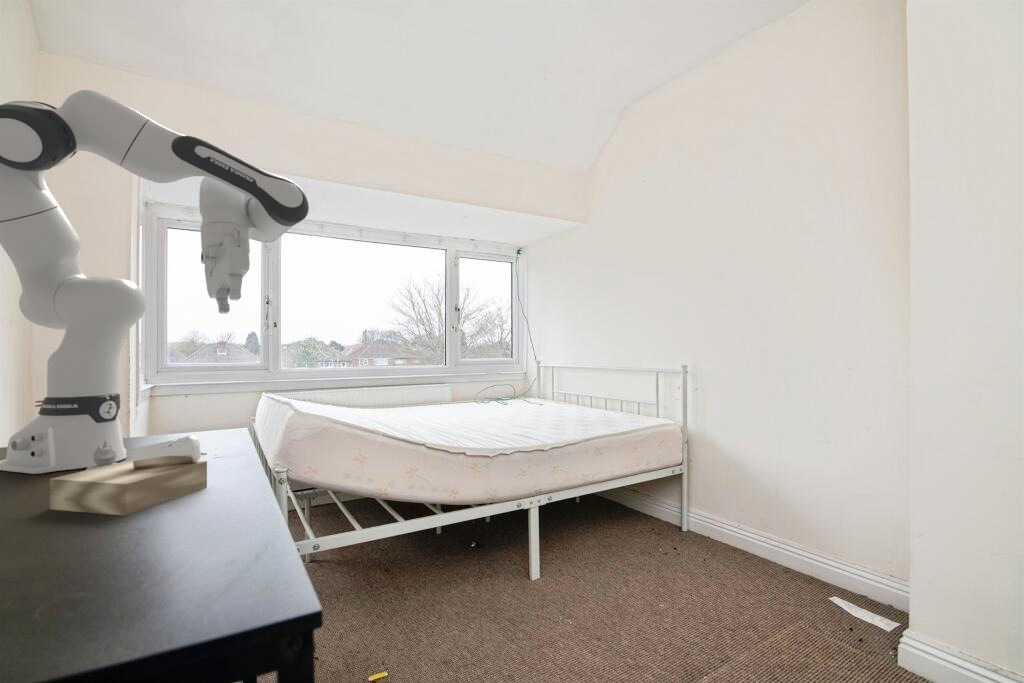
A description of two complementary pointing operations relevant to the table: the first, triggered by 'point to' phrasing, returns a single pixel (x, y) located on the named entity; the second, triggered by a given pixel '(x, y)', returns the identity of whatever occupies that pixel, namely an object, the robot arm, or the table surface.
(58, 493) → the block
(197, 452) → the milkshake
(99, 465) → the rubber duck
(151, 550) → the table surface
